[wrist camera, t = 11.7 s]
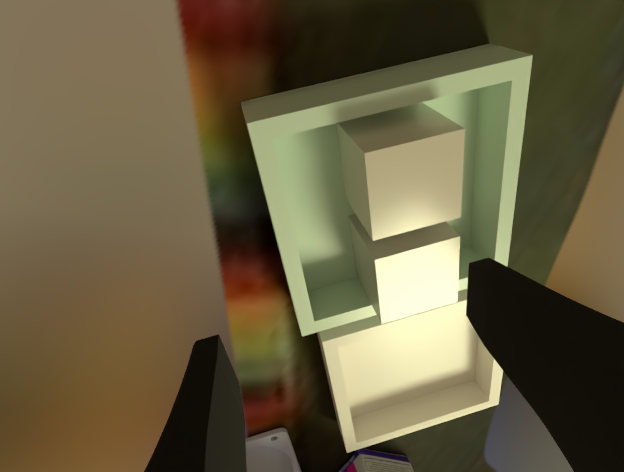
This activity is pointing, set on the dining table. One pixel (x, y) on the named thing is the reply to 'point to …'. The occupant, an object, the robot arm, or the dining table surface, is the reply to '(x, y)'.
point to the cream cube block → (407, 269)
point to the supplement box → (376, 462)
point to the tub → (329, 180)
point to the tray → (407, 373)
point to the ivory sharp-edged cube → (402, 169)
